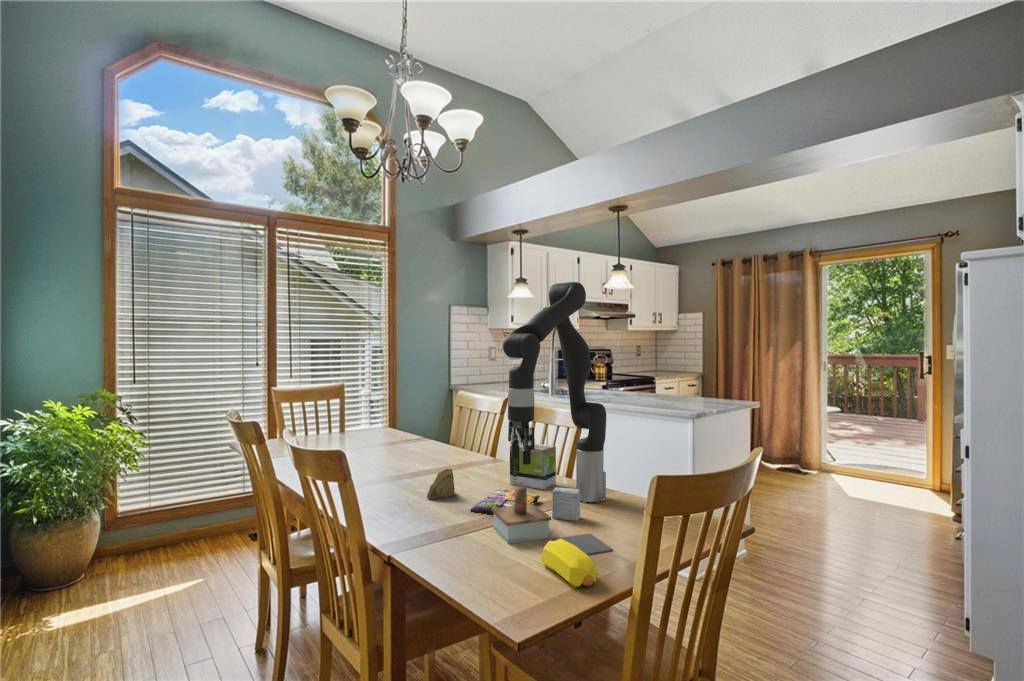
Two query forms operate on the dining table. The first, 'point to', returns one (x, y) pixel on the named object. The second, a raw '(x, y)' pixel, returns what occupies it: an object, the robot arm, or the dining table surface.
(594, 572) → the yellow faceted long part
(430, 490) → the rock
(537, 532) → the dish
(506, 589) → the dining table surface
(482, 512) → the food package
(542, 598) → the dining table surface
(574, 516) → the medicine box
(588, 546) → the mat
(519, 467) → the tea box
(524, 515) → the lid
